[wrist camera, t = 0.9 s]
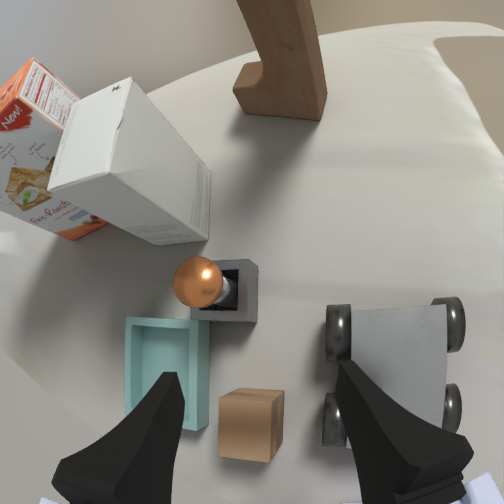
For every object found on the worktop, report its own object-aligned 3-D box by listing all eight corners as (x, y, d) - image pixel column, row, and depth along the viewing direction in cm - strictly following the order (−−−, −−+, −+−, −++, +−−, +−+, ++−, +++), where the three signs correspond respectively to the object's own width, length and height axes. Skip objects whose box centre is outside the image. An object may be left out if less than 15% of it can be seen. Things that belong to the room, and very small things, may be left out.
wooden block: (243, 114, 33) (173, -11, 17) (255, 87, 34) (196, -34, 17) (320, 122, 30) (285, -29, 14) (328, 93, 31) (299, -48, 14)
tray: (208, 424, 26) (196, 431, 23) (139, 410, 28) (125, 414, 26) (210, 321, 28) (198, 320, 26) (140, 318, 30) (125, 315, 28)
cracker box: (74, 244, 36) (-59, 186, 17) (74, 205, 38) (-44, 139, 19) (159, 204, 33) (12, 96, 14) (154, 162, 35) (32, 52, 16)
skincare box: (163, 179, 34) (71, 100, 20) (216, 168, 32) (134, 70, 18) (155, 249, 32) (41, 192, 18) (212, 244, 30) (105, 170, 16)
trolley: (441, 427, 20) (459, 444, 15) (324, 435, 23) (320, 457, 18) (446, 299, 23) (467, 292, 18) (328, 307, 26) (325, 301, 21)
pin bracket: (257, 322, 27) (247, 320, 24) (205, 321, 28) (190, 319, 26) (258, 266, 28) (248, 259, 25) (207, 268, 30) (193, 261, 27)
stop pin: (249, 314, 27) (218, 307, 21) (212, 314, 28) (172, 306, 22) (250, 274, 28) (220, 255, 22) (213, 275, 29) (175, 257, 22)
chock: (282, 442, 24) (269, 462, 19) (239, 437, 25) (218, 455, 20) (284, 390, 25) (271, 402, 20) (240, 387, 26) (218, 397, 21)
